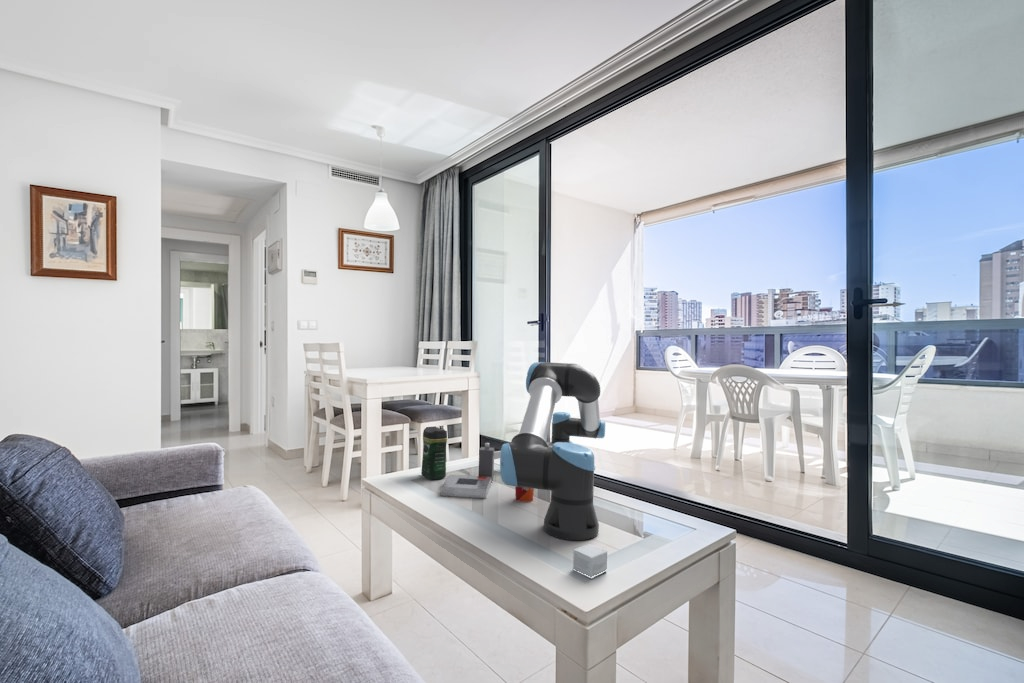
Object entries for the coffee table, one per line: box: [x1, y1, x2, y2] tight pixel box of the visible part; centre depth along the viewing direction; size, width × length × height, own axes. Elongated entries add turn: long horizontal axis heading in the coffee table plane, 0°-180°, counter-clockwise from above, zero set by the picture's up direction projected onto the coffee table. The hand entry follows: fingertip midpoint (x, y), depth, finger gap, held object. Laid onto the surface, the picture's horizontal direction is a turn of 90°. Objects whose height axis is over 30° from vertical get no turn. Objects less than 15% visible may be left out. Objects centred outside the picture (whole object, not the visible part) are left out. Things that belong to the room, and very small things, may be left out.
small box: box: [572, 543, 608, 577], centre depth 110 cm, size 6×6×5 cm
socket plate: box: [440, 474, 492, 499], centre depth 167 cm, size 15×15×3 cm
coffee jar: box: [421, 426, 448, 481], centre depth 182 cm, size 10×8×19 cm
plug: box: [477, 442, 495, 484], centre depth 178 cm, size 5×5×14 cm
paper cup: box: [514, 486, 535, 503], centre depth 159 cm, size 8×8×14 cm
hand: (503, 459), depth 184 cm, fingers open, 13 cm apart
